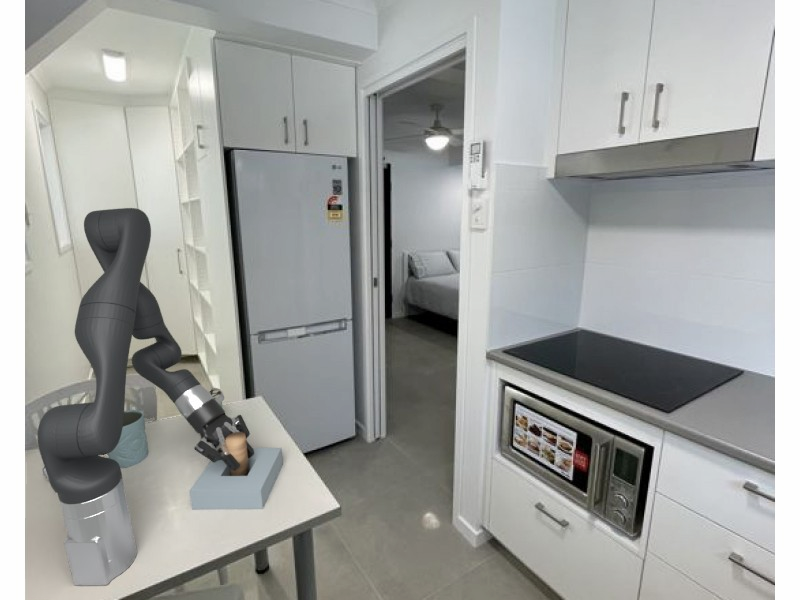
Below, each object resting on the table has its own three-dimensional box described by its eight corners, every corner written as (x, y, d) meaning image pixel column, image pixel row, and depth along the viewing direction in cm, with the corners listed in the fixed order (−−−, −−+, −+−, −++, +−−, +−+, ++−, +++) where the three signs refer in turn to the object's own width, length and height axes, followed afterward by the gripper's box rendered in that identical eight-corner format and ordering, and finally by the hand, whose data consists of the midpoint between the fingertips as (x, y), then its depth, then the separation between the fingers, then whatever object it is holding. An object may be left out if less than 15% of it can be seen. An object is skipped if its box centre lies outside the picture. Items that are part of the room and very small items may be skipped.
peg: (245, 483, 96) (241, 442, 93) (227, 483, 96) (222, 442, 93) (252, 471, 100) (248, 431, 97) (234, 471, 100) (230, 431, 97)
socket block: (262, 508, 90) (260, 489, 89) (192, 509, 90) (189, 490, 89) (283, 464, 106) (281, 447, 105) (222, 464, 106) (220, 447, 105)
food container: (215, 435, 119) (211, 405, 117) (195, 435, 120) (191, 405, 117) (233, 414, 131) (230, 386, 129) (215, 414, 132) (211, 386, 129)
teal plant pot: (146, 464, 106) (139, 424, 103) (101, 474, 103) (92, 432, 100) (153, 444, 115) (147, 406, 113) (112, 452, 112) (104, 413, 109)
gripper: (181, 414, 89) (230, 473, 88) (228, 387, 102) (272, 438, 101) (167, 431, 92) (214, 488, 91) (215, 402, 105) (256, 452, 104)
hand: (244, 461), depth 96 cm, fingers closed on peg, 4 cm apart
